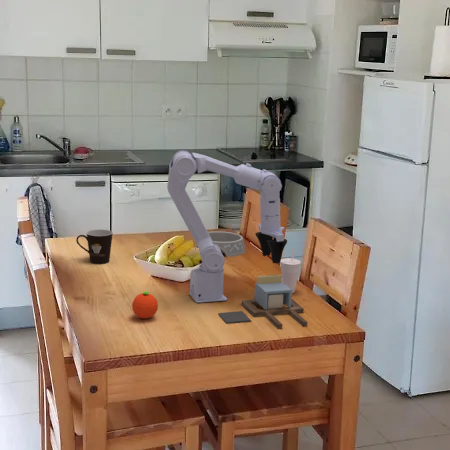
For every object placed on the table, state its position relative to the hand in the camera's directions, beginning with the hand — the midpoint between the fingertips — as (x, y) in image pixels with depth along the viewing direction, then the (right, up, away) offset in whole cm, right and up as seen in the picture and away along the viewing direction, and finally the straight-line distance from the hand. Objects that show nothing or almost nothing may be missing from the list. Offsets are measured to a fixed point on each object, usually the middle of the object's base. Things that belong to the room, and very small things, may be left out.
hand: (271, 259), depth 207 cm
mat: (-11, -15, -15) cm, 24 cm away
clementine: (-35, -15, -17) cm, 42 cm away
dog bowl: (-15, +1, +51) cm, 53 cm away
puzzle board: (+1, -15, -11) cm, 18 cm away
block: (0, -14, -6) cm, 15 cm away
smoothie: (+6, -11, +9) cm, 15 cm away
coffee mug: (-57, -2, +31) cm, 65 cm away
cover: (0, -12, -7) cm, 14 cm away
